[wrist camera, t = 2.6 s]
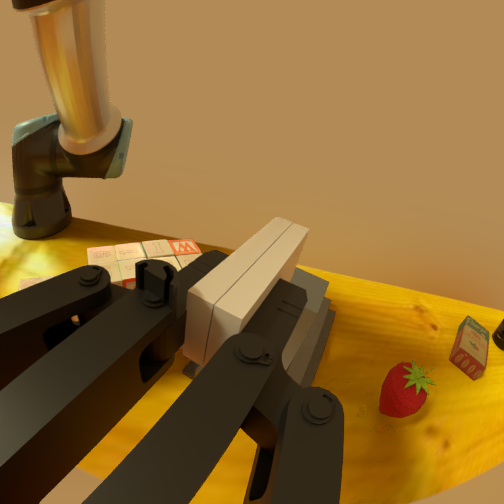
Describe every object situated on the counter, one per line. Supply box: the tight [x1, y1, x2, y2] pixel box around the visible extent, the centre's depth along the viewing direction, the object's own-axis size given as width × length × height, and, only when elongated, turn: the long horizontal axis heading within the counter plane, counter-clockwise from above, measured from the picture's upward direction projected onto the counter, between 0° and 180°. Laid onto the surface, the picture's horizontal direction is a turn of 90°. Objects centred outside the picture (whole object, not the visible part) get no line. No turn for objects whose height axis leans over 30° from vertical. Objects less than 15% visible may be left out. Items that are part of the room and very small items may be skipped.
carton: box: [449, 315, 489, 381], centre depth 40 cm, size 8×16×4 cm, turn 130°
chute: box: [183, 297, 335, 388], centre depth 35 cm, size 14×23×5 cm, turn 155°
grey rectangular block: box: [282, 267, 329, 370], centre depth 26 cm, size 6×5×14 cm
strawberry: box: [379, 360, 435, 418], centre depth 26 cm, size 6×8×10 cm
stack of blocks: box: [18, 239, 203, 349], centre depth 26 cm, size 21×6×12 cm, turn 121°
